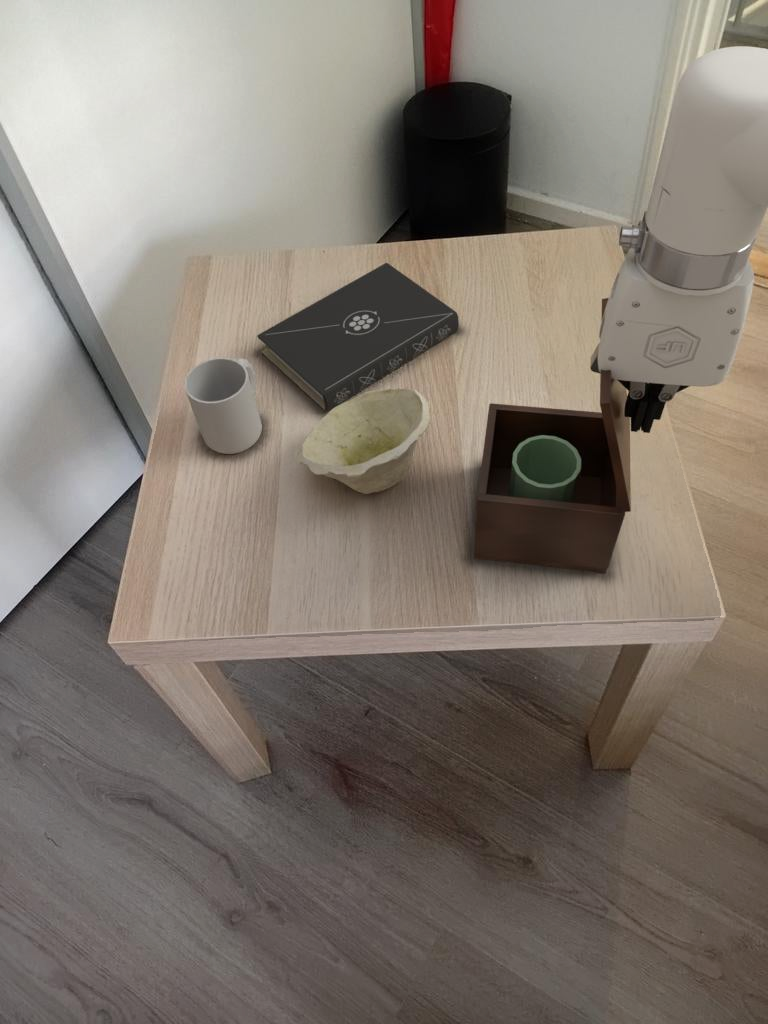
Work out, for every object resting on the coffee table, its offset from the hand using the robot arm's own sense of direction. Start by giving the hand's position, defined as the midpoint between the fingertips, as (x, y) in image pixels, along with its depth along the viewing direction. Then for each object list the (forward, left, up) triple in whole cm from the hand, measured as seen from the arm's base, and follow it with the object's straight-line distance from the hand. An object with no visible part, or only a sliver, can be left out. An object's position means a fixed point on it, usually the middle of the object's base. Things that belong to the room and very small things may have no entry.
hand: (639, 420), depth 70 cm
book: (+32, -25, -16) cm, 44 cm away
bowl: (+27, -4, -16) cm, 32 cm away
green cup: (+8, 0, -15) cm, 17 cm away
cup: (+44, -9, -16) cm, 48 cm away
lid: (+3, 0, +1) cm, 3 cm away
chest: (+7, 0, -16) cm, 18 cm away
